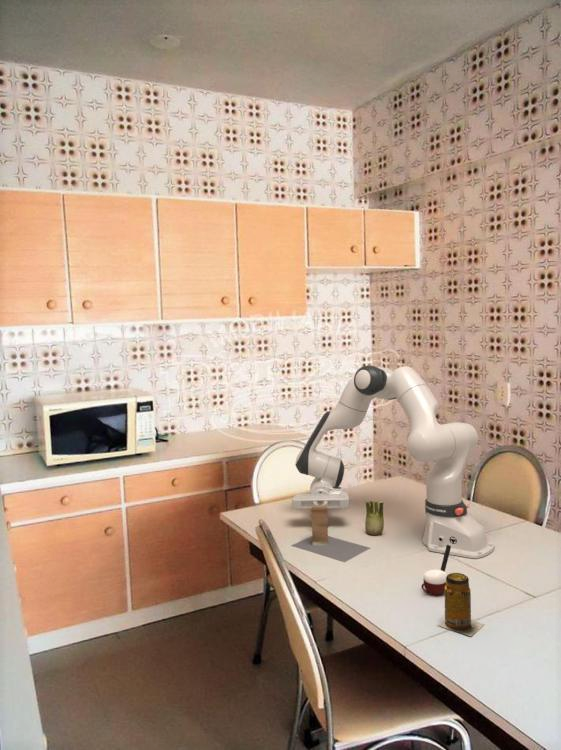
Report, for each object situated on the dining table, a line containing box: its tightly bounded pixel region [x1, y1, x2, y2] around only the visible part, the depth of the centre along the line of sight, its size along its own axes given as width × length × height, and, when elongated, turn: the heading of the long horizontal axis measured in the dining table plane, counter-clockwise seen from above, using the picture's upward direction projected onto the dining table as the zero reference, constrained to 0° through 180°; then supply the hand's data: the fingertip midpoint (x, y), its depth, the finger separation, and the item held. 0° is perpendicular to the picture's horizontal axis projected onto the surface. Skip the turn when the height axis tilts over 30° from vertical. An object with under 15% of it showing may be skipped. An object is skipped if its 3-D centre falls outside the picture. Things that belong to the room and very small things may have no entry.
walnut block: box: [310, 505, 329, 545], centre depth 200 cm, size 5×5×12 cm
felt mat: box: [291, 535, 371, 563], centre depth 197 cm, size 22×14×1 cm, turn 47°
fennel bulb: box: [364, 500, 385, 537], centre depth 206 cm, size 6×5×12 cm
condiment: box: [438, 572, 485, 637], centre depth 145 cm, size 7×8×12 cm
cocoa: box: [421, 545, 451, 596], centre depth 162 cm, size 10×6×12 cm, turn 93°
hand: (320, 508), depth 207 cm, fingers closed
